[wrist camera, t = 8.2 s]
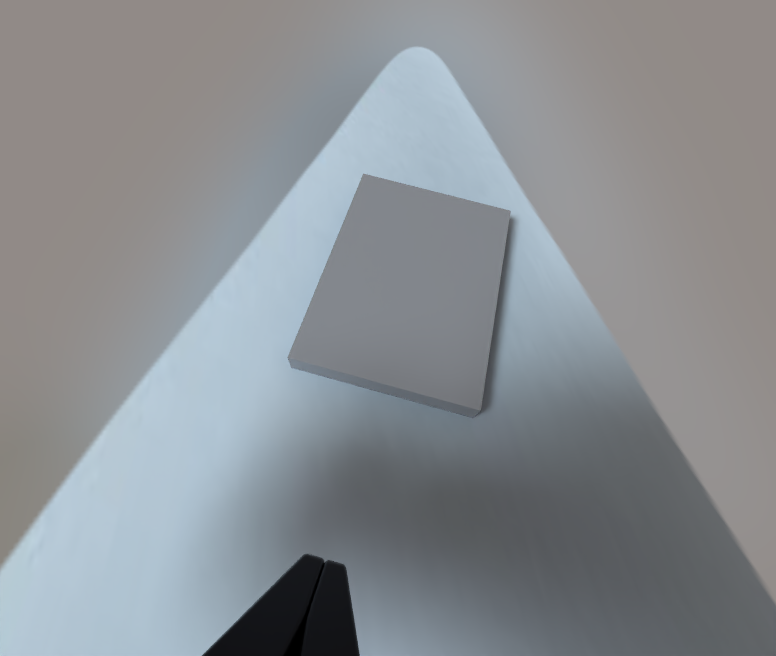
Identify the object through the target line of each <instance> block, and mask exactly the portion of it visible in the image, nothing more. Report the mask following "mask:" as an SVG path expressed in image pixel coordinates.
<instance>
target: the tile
mask: <svg viewBox="0 0 776 656" xmlns="http://www.w3.org/2000/svg"><path fill="white" fill-rule="evenodd" d="M510 212H511V211H509V210H505V209H501V208H497V207H493V206H489V205H485V204H481V203H477V202H473V201H469V200H465V199H461V198H457V197H454V196H450V195H446V194H442V193H438V192H434V191H430V190H426V189H422V188H418V187H414V186H410V185H406V184H402V183H398V182H394V181H390V180H386V179H382V178H378V177H374V176H370V175H366V174H363V176H362V178H361V181H360V183H359V186H358V188H357V191H356V193H355V195H354V198H353V200H352V203H351V205H350V207H349V210H348V212H347V215H346V217H345V220H344V222H343V224H342V227H341V229H340V232H339V234H338V237H337V239H336V241H335V244H334V246H333V249H332V251H331V254H330V256H329V258H328V261H327V263H326V266H325V268H324V271H323V273H322V275H321V278H320V280H319V283H318V285H317V288H316V290H315V292H314V295H313V297H312V300H311V302H310V305H309V307H308V309H307V312H306V314H305V317H304V319H303V322H302V324H301V326H300V329H299V331H298V334H297V336H296V339H295V341H294V343H293V346H292V348H291V351H290V353H289V356H288V360H289V363H290V365H291V368H295V369H298V370H302V371H306V372H309V373H313V374H316V375H320V376H324V377H327V378H331V379H335V380H338V381H342V382H345V383H349V384H353V385H356V386H360V387H363V388H367V389H371V390H374V391H378V392H381V393H385V394H389V395H392V396H396V397H400V398H403V399H407V400H410V401H414V402H418V403H421V404H425V405H428V406H432V407H436V408H439V409H443V410H447V411H450V412H454V413H457V414H461V415H465V416H468V417H472V418H473V417H474V416H476V415H477V414H478V413H479V412H480V411H481V406H482V399H483V393H484V386H485V379H486V373H487V366H488V359H489V353H490V346H491V339H492V332H493V326H494V319H495V312H496V306H497V299H498V292H499V286H500V279H501V272H502V265H503V259H504V252H505V245H506V239H507V232H508V225H509V219H510Z"/></svg>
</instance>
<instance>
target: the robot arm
mask: <svg viewBox="0 0 776 656" xmlns="http://www.w3.org/2000/svg"><path fill="white" fill-rule="evenodd" d="M202 656H360V654H359V648H358V641H357V635H356V628H355V622H354V615H353V609H352V602H351V596H350V590H349V583H348V577H347V570H346V567H345V565H344V564H341V563H337V562H334V561H331V560H327V561H325V563H324V560H323V558H320V557H317V556H314V555H310V554H304V555H303V556H302V557H301V558H300V559H299V560H298V561H297V562H296V563H295V564H294V565H293V566H292V567H291V568H290V569H289V570H288V571H287V572H286V573H285V574H284V575H283V576H282V577H281V578H280V579H279V580H278V581H277V582H276V583H275V584H274V585H273V586H272V587H271V588H270V589H269V590H268V591H267V592H266V593H265V594H264V595H263V596H261V597H260V598H259V599H258V600H257V601H256V602H255V603H254V604H253V605H252V606H251V607H250V608H249V609H248V610H247V611H246V612H245V613H244V614H243V615H242V616H241V617H240V618H239V619H238V620H237V621H236V622H235V623H234V624H233V625H232V626H231V627H230V628H229V629H228V630H227V631H226V632H225V633H224V634H223V635H222V636H221V637H220V638H219V639H218V640H217V641H216V642H215V643H214V644H213V645H212V646H211V647H210V648H209V649H208V650H207V651H206V652H205V653H204V654H203V655H202Z"/></svg>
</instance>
